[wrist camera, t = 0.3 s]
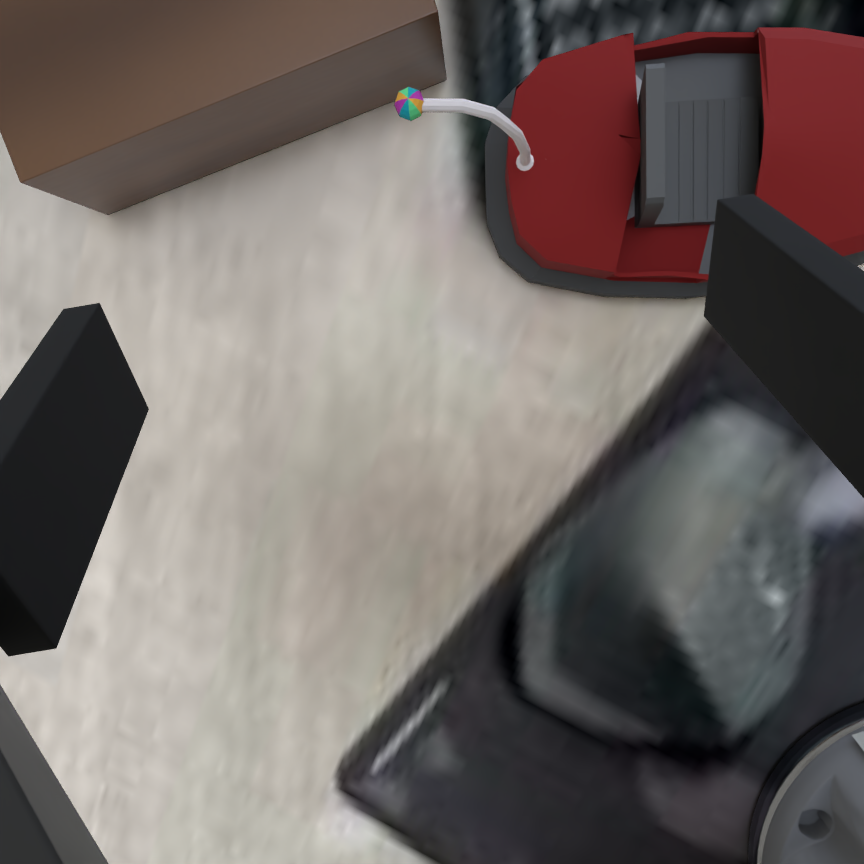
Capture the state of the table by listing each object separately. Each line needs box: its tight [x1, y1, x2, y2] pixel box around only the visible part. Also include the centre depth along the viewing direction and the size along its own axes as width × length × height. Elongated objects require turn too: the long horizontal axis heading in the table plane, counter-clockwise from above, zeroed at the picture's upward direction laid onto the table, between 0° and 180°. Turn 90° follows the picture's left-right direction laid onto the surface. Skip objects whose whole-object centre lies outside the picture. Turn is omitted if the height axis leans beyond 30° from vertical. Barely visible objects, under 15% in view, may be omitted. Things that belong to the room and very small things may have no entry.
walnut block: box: [0, 0, 446, 215], centre depth 27 cm, size 8×16×6 cm, turn 109°
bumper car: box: [394, 28, 864, 299], centre depth 25 cm, size 10×20×10 cm, turn 92°
